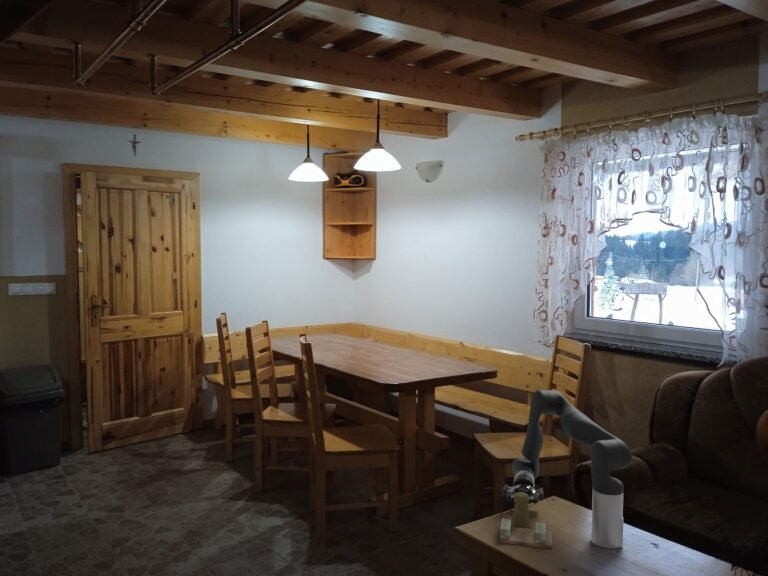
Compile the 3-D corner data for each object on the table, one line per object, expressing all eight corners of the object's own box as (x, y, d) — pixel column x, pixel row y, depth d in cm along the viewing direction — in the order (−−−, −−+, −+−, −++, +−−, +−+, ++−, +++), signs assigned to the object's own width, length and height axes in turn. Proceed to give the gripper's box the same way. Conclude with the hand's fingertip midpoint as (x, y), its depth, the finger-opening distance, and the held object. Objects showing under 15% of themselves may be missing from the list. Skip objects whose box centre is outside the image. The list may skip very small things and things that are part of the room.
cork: (531, 529, 208) (532, 497, 207) (513, 528, 208) (514, 496, 207) (527, 521, 214) (528, 490, 213) (510, 521, 214) (511, 489, 213)
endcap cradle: (551, 534, 204) (551, 522, 204) (551, 548, 194) (551, 536, 194) (502, 528, 208) (502, 517, 208) (499, 542, 198) (500, 530, 198)
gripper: (504, 471, 234) (501, 487, 218) (543, 475, 230) (543, 492, 215) (504, 491, 234) (501, 508, 219) (543, 495, 231) (543, 513, 215)
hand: (522, 500), depth 217 cm, fingers open, 8 cm apart
